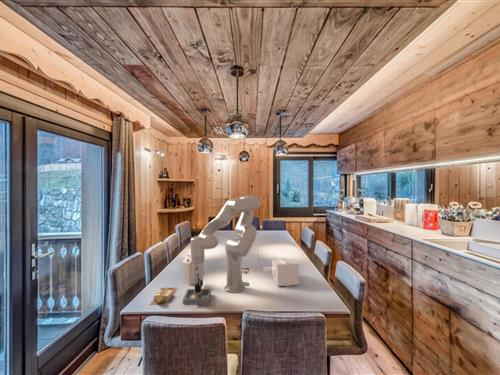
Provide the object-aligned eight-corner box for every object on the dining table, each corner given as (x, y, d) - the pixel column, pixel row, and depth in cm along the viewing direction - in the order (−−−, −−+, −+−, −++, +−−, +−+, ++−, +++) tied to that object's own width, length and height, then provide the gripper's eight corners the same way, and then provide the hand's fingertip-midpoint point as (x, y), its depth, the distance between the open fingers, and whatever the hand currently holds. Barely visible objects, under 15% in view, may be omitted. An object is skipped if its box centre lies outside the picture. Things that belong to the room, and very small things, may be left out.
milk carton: (191, 281, 176) (191, 253, 175) (197, 283, 171) (197, 255, 171) (182, 284, 170) (182, 255, 170) (189, 287, 166) (188, 257, 165)
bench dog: (164, 301, 143) (164, 292, 143) (162, 304, 139) (162, 295, 139) (157, 301, 143) (157, 292, 143) (155, 304, 139) (155, 295, 139)
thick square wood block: (172, 295, 151) (172, 290, 151) (168, 301, 143) (168, 295, 143) (159, 295, 151) (159, 289, 151) (153, 301, 143) (153, 295, 143)
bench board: (177, 289, 162) (177, 287, 162) (168, 306, 139) (168, 304, 139) (161, 289, 162) (161, 288, 161) (149, 307, 139) (149, 305, 139)
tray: (211, 294, 155) (211, 288, 155) (209, 305, 141) (209, 298, 141) (187, 295, 154) (187, 289, 154) (182, 306, 140) (182, 299, 140)
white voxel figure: (293, 274, 194) (307, 285, 167) (260, 276, 190) (269, 288, 163) (292, 254, 195) (306, 262, 168) (260, 255, 191) (269, 264, 164)
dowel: (201, 297, 149) (202, 285, 149) (200, 300, 145) (201, 287, 145) (194, 297, 149) (195, 285, 149) (193, 300, 145) (193, 287, 145)
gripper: (202, 263, 139) (204, 294, 139) (206, 254, 156) (207, 282, 157) (188, 264, 138) (190, 295, 139) (193, 254, 156) (194, 283, 156)
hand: (199, 288), depth 148 cm, fingers open, 9 cm apart
